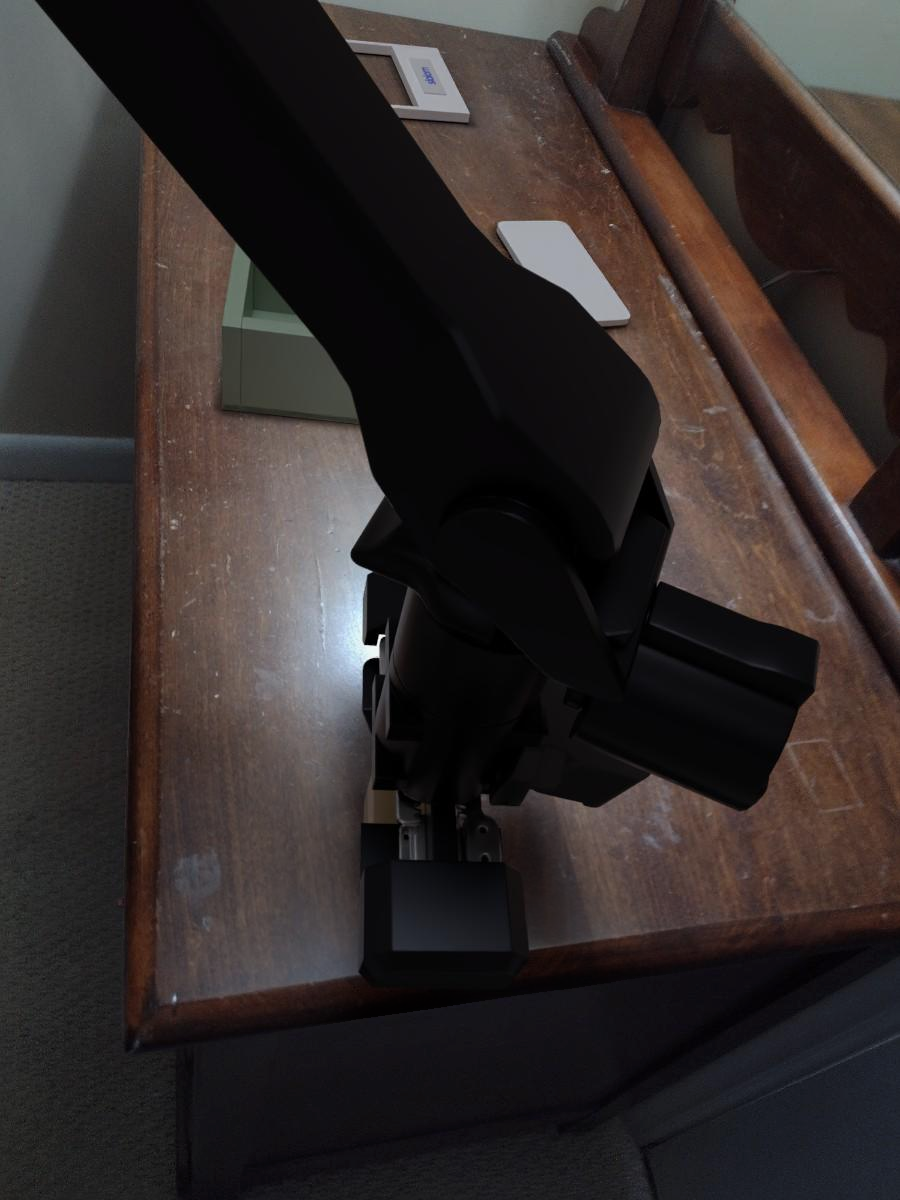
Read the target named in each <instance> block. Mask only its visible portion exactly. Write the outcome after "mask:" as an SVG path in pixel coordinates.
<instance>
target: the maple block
mask: <svg viewBox="0 0 900 1200" xmlns="http://www.w3.org/2000/svg"><path fill="white" fill-rule="evenodd" d="M455 806H457V805H455ZM416 808H418V809H421V810H422V813H421V814H425V809H424V803H421V806H420V807H416ZM457 813H458V809H456V815H457ZM363 823H383V824H398V823H397V821H396V791H389V790H372V773H371V774H370V778H369V782H368V786H367V789H366V792H365V796H364V800H363Z"/></svg>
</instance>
